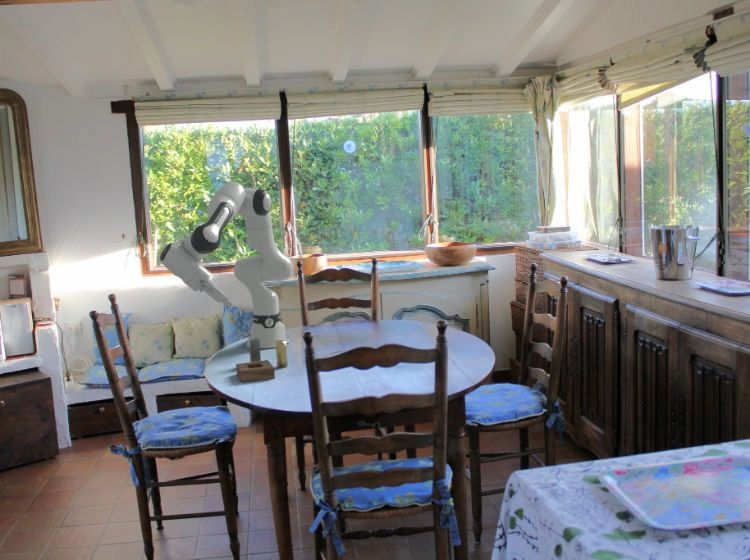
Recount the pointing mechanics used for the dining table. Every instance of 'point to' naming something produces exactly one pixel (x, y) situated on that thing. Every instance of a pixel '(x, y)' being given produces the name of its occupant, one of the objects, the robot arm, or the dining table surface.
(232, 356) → the dining table surface
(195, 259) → the robot arm
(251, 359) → the square bit
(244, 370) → the bore block
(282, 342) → the round bit
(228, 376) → the dining table surface
